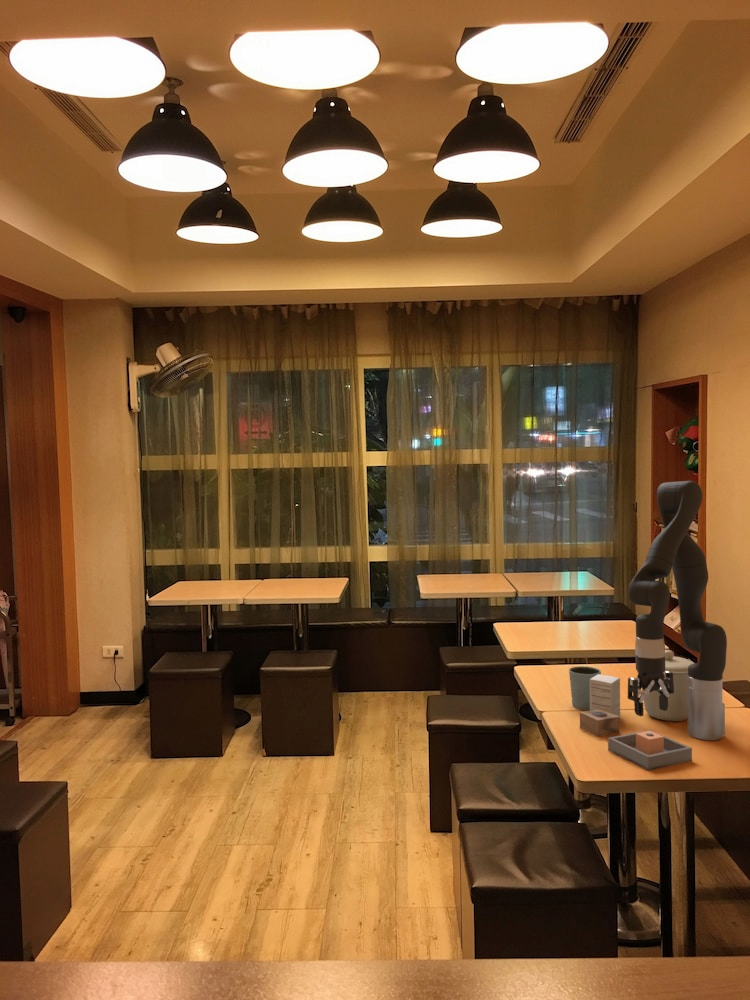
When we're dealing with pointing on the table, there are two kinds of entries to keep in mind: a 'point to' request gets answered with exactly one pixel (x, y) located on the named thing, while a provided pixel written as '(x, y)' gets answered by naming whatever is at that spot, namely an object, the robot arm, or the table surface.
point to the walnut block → (599, 722)
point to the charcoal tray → (669, 757)
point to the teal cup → (581, 685)
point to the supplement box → (605, 693)
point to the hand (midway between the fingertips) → (651, 712)
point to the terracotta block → (649, 742)
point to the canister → (680, 696)
